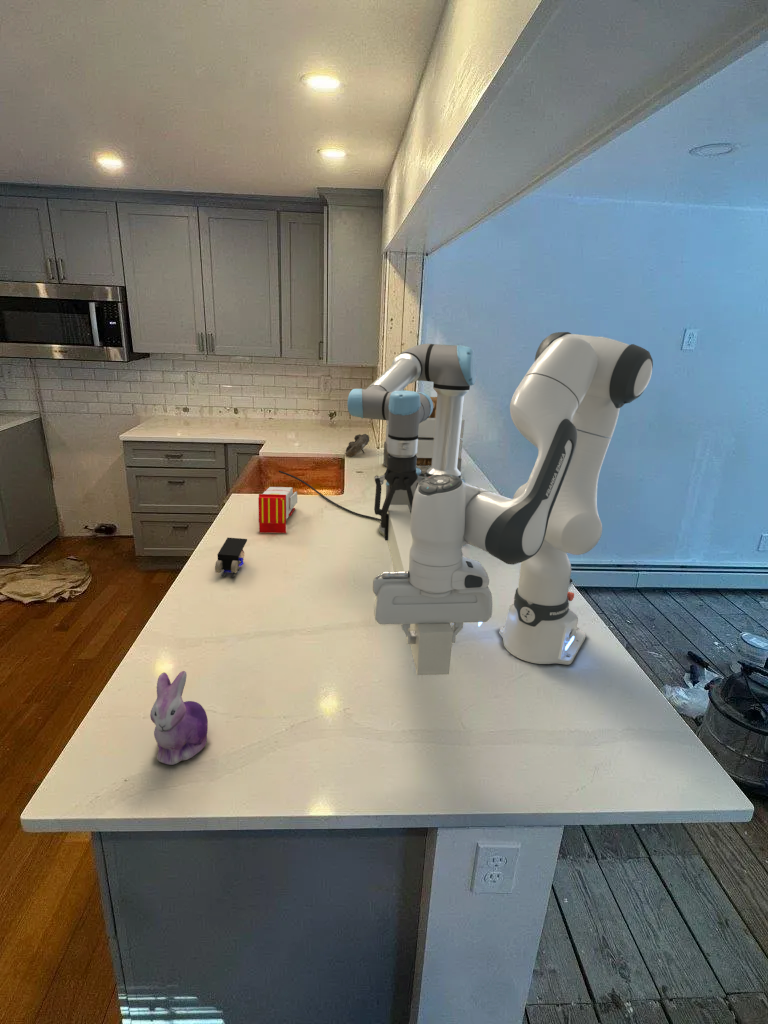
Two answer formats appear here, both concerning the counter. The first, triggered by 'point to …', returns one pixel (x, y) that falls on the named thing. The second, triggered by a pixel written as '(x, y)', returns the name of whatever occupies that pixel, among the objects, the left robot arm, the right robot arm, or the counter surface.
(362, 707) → the counter surface
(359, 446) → the fossil
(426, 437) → the transformer
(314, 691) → the counter surface
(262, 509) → the toy
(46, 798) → the counter surface
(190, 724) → the figurine
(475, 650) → the counter surface
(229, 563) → the black wheeled rover
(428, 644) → the post
